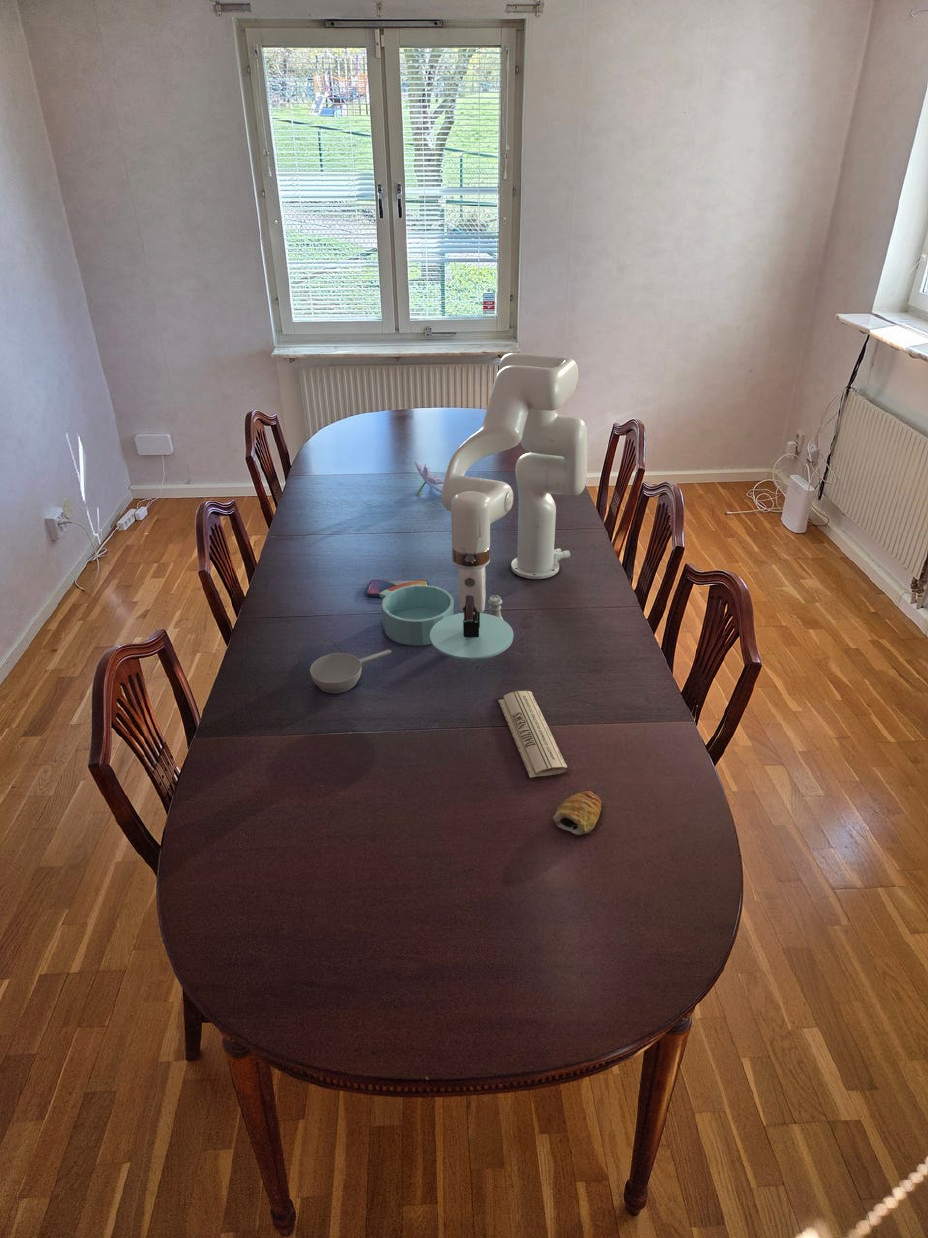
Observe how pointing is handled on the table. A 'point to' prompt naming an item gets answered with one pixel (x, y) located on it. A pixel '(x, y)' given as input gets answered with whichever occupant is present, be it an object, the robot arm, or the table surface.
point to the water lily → (429, 478)
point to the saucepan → (339, 671)
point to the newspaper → (532, 734)
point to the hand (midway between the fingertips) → (471, 631)
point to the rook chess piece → (495, 606)
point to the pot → (414, 612)
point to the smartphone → (390, 585)
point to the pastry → (578, 813)
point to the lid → (488, 644)
